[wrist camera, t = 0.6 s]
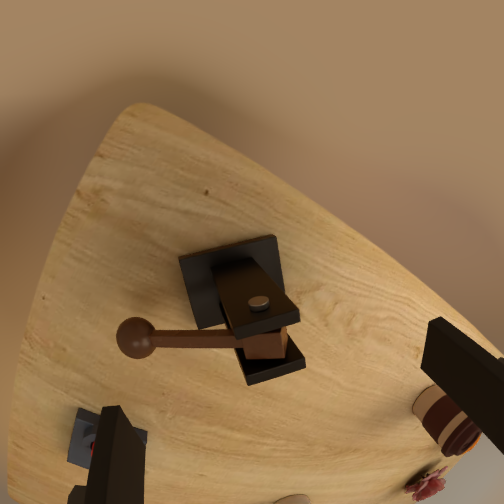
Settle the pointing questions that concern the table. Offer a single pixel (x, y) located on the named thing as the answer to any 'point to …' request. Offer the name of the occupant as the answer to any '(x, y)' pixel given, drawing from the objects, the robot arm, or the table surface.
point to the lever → (196, 340)
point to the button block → (88, 438)
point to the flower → (427, 485)
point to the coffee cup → (445, 421)
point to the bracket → (244, 299)
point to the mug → (294, 500)
